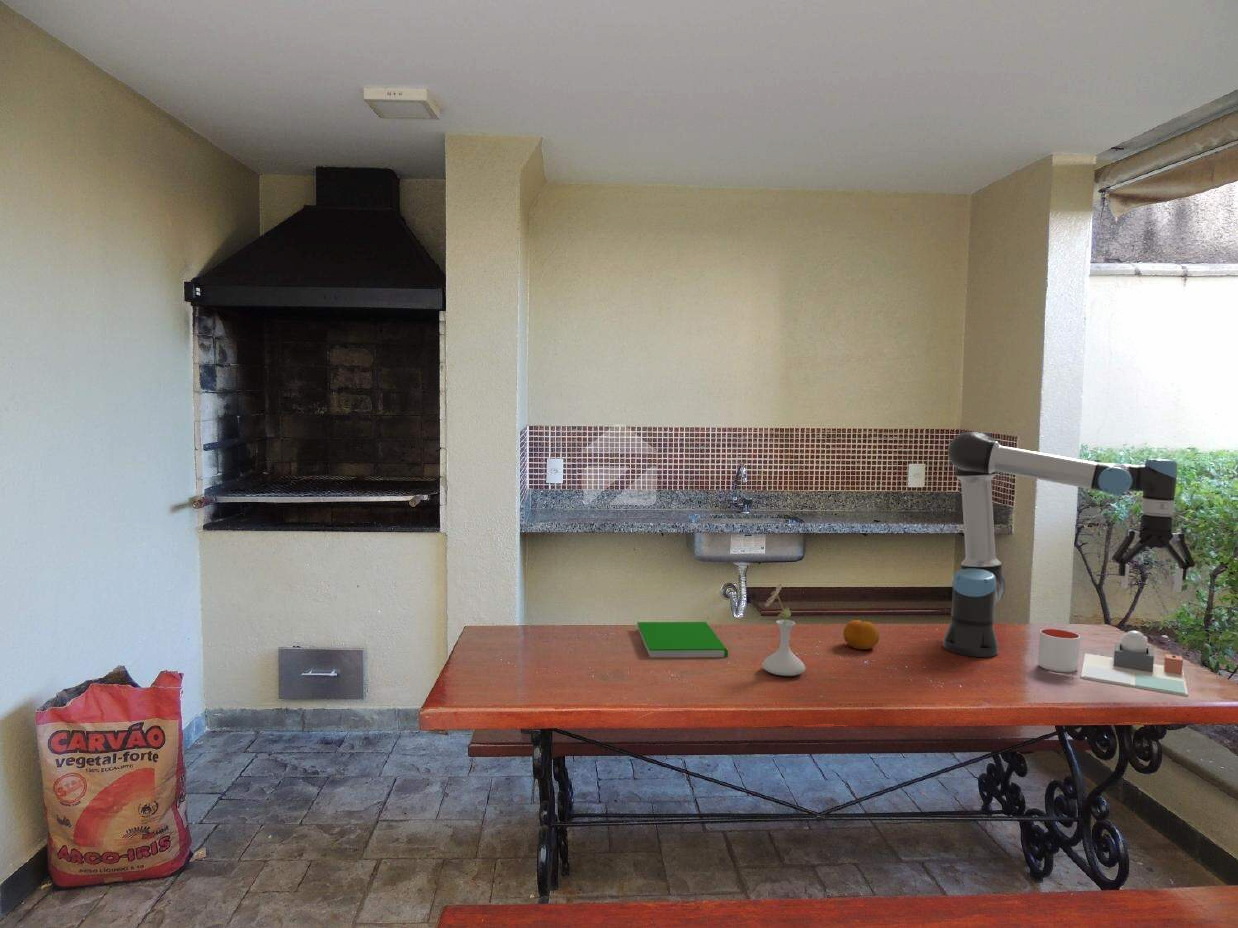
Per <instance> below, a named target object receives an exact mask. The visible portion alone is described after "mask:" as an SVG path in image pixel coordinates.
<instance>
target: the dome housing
mask: <svg viewBox="0 0 1238 928" xmlns="http://www.w3.org/2000/svg"><path fill="white" fill-rule="evenodd" d="M1113 651H1114V653H1113V658H1114V664H1113V666H1116V667H1122V668H1128V669H1134V670H1141V671H1147V672H1153V664H1155V662H1154V660H1155V654H1154V653H1155V652H1154V648H1153V647H1148V646H1147V651H1146V654H1141V653H1135V652H1128V651H1122V642H1121V643H1119V642H1114V650H1113Z"/></svg>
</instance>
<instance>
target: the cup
mask: <svg viewBox="0 0 1238 928" xmlns="http://www.w3.org/2000/svg"><path fill="white" fill-rule="evenodd" d="M1080 646H1081V636H1080V635H1079V634H1078V633H1075V632H1073V631H1069V630H1064V629H1057V628H1043V629H1040V630H1039V640H1038V655H1037V663H1038V664H1039V666H1040V667H1041V668H1042V669H1044V670H1047V671H1051V672H1054V673H1058V674H1062V673H1075V672H1076V671H1078V669H1079V660H1080V650H1081V649H1080V648H1081V647H1080Z"/></svg>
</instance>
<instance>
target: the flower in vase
mask: <svg viewBox="0 0 1238 928" xmlns="http://www.w3.org/2000/svg"><path fill="white" fill-rule="evenodd" d="M782 587H783V581H782V582H779V583H778V584H777V585H776V588H775V591H774V590H773V591H772V592H771V595H770V597H769V598H768V599H767V600H766V603H765V604H764V606H765V607H767V608H768V607H770V605H771V604H772V603H773V602H774V600H775V599H776V600H778V602H779V604H780V607H781V612H780V613H779V614H778V615H777V617H776V619H775V621H776V622H775V623H776V624H777V627H779V633H780V634H779V635H780V644H779V648H778V649H777V651H775V652H774V653H772V654H770V656H767V657H766V658H765V659H764V660H763V662H762V664H761V665H762V668H763V669H764V670H765V671H766V672H768V673H771V674H773V675H776V676H783V677H794V676H798V675H801V674H803V673H804V672H805V671H806V665H805V664H804V662H803V661H802V660H801V659H800V658H799V657H797V656H796V655H795V654H794V652H793V651H792V650H791V648H790V635H791V631H792V628H793V627H794V626H795V625H796V622H795V621H793V620H790V619H788V618H791V615H792V613H791V610H790V608H789V606H787V607H785V608H784V606H783V604H782V601H781V599H780V597H779V593H780V592H781V590H782ZM782 617H783V619H781V618H782Z"/></svg>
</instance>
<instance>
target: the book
mask: <svg viewBox="0 0 1238 928" xmlns="http://www.w3.org/2000/svg"><path fill="white" fill-rule="evenodd" d="M636 623H637V631H638V633H639V636H640V638H641V639H642V642H643V645H644V647H645V649H646V652H647V653H648V657H649V658H728V657H729V650H728V649H727V648H726V646H725V645H724V644H723V642H722V640H720V638H719V637H718V636H717V634H716V633H715V631H714V630H713V629H712V627H710V625H709V623H707V622H706V621H655V622H654V621H650V622H649V621H648V622H647V621H646V622H645V621H637V622H636Z"/></svg>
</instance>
